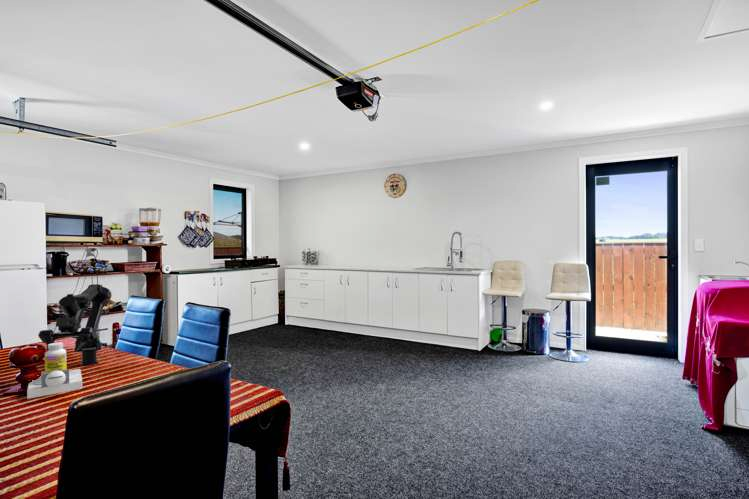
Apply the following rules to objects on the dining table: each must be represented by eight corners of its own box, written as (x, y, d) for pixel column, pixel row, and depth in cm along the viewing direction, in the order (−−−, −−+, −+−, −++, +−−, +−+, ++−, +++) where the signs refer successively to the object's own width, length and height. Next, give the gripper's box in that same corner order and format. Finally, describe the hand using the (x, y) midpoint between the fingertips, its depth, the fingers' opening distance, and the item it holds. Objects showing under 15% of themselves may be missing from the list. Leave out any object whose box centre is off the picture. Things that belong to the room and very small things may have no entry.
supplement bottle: (43, 380, 152) (42, 346, 152) (46, 375, 158) (46, 343, 158) (65, 377, 156) (64, 344, 156) (68, 372, 161) (67, 341, 161)
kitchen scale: (30, 384, 160) (30, 363, 160) (80, 375, 170) (80, 355, 170) (27, 399, 143) (26, 375, 143) (82, 389, 153) (82, 367, 153)
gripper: (39, 310, 164) (25, 344, 153) (92, 308, 169) (82, 340, 159) (50, 326, 172) (36, 359, 161) (100, 323, 177) (90, 354, 166)
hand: (61, 352), depth 162 cm, fingers open, 9 cm apart
